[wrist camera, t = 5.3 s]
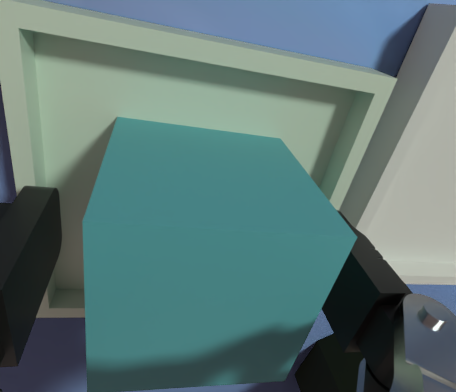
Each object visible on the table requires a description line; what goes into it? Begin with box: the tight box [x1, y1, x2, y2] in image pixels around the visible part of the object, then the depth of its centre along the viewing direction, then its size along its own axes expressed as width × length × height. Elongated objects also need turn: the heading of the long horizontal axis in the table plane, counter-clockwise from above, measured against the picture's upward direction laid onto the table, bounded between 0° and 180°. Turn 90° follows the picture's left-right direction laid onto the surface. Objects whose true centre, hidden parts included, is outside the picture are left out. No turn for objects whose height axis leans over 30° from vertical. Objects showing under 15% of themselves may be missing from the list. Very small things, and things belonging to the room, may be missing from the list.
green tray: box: [0, 0, 397, 318], centre depth 11 cm, size 10×10×1 cm
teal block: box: [82, 117, 357, 392], centre depth 9 cm, size 5×5×5 cm
